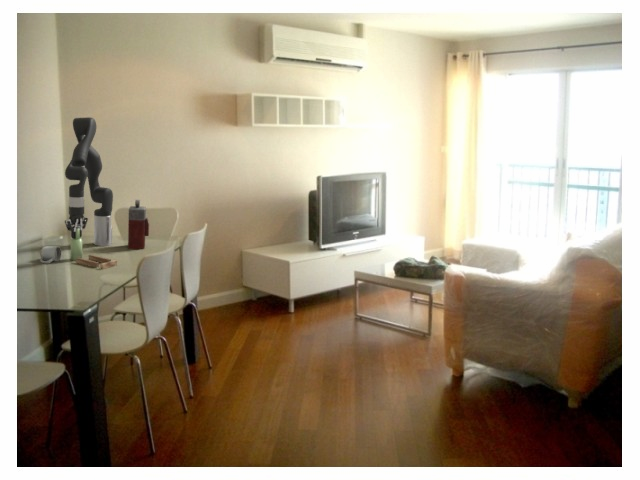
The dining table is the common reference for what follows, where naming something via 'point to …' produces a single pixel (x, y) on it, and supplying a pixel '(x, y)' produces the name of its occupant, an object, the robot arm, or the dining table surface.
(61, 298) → the dining table surface
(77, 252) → the bottle
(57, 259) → the ceramic mug
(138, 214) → the dark red tall container
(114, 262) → the rest
